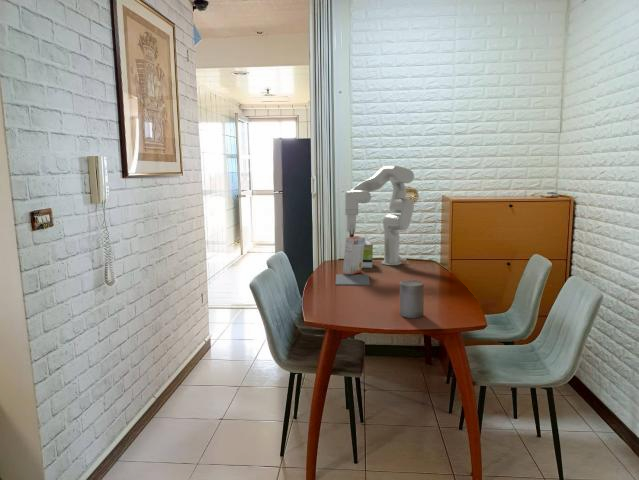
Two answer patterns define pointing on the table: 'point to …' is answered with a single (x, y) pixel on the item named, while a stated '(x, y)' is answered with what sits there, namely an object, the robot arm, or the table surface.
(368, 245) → the tea box
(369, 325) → the table surface
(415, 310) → the pillar candle
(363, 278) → the mat
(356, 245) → the cracker box
